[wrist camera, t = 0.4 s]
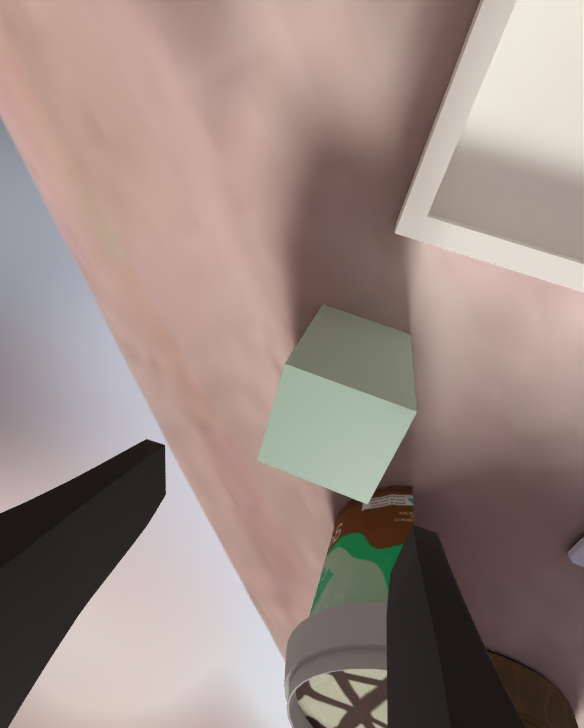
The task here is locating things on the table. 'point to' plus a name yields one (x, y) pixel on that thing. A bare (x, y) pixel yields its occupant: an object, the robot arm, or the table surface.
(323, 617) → the food container
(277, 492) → the table surface
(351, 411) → the green block
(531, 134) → the bin
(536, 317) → the table surface
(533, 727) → the wooden container
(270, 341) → the table surface
